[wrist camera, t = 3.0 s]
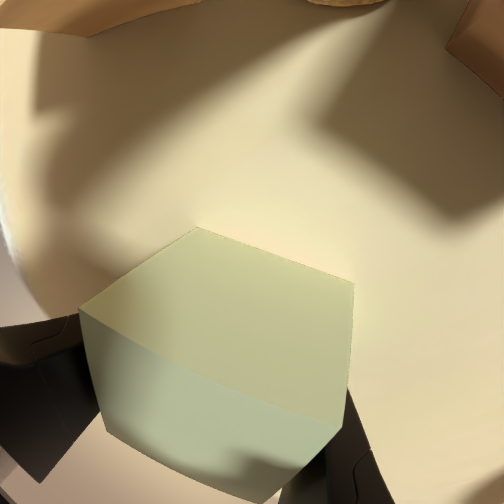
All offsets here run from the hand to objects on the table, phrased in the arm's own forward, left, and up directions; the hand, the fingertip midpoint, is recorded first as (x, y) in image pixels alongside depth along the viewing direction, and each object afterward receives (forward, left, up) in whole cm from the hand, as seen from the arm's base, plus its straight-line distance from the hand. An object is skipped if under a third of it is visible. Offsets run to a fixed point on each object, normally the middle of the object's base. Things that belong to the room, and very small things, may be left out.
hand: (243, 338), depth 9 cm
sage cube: (0, 0, -1) cm, 1 cm away
